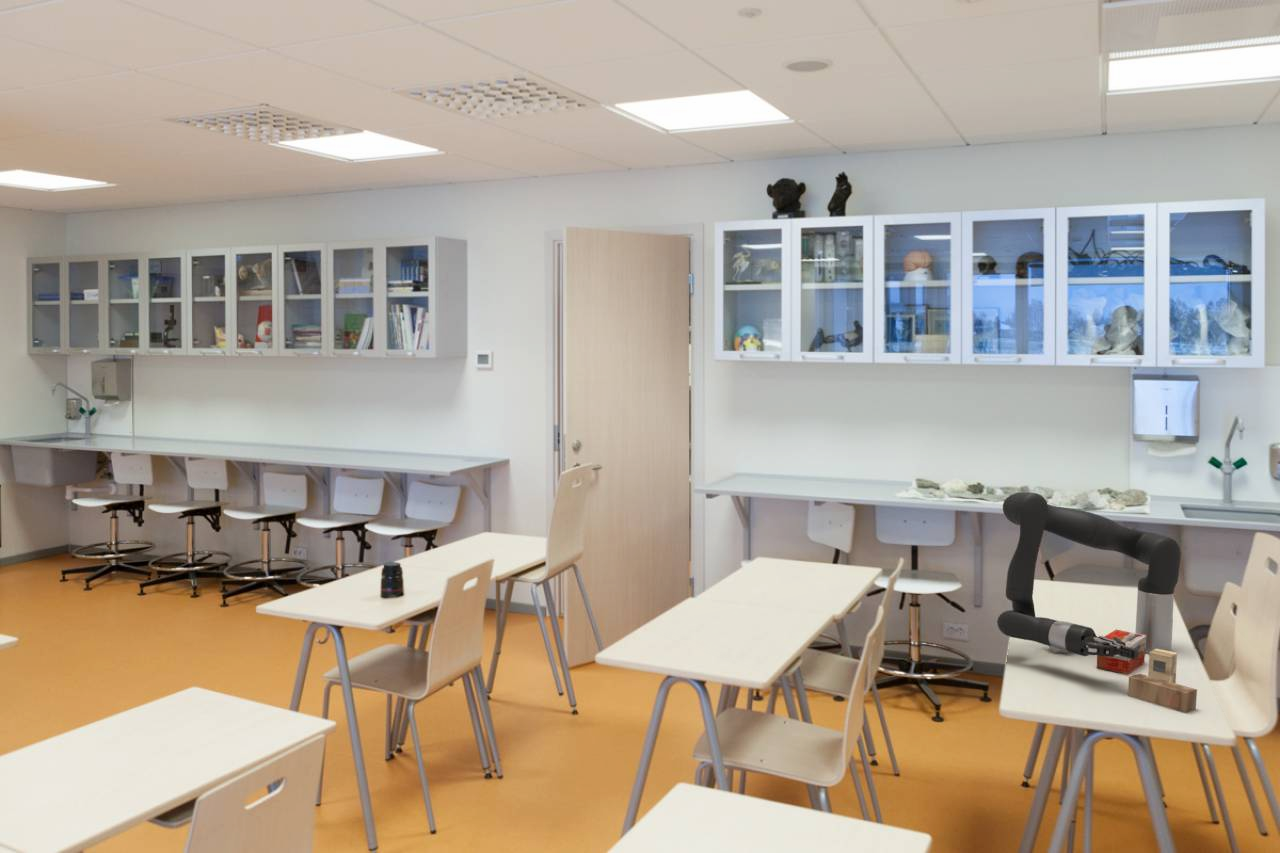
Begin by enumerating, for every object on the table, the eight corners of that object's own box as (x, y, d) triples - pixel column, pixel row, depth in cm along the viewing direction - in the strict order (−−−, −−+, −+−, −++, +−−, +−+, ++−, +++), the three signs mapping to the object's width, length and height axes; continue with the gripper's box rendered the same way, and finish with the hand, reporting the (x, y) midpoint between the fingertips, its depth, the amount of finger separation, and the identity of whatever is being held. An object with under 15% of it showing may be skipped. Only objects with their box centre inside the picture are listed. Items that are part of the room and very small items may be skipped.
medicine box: (1127, 676, 269) (1129, 646, 268) (1095, 669, 274) (1097, 639, 274) (1145, 663, 280) (1147, 634, 279) (1114, 657, 285) (1115, 628, 285)
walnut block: (1139, 673, 255) (1197, 689, 244) (1138, 693, 256) (1195, 709, 244) (1128, 677, 252) (1185, 693, 241) (1127, 696, 253) (1184, 713, 241)
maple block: (1154, 682, 263) (1156, 648, 262) (1175, 687, 260) (1177, 652, 259) (1147, 687, 259) (1149, 652, 259) (1168, 692, 256) (1170, 657, 255)
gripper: (1057, 627, 263) (1123, 644, 249) (1086, 620, 271) (1151, 635, 257) (1056, 656, 264) (1121, 674, 250) (1085, 648, 271) (1149, 665, 257)
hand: (1136, 654), depth 253 cm, fingers closed
